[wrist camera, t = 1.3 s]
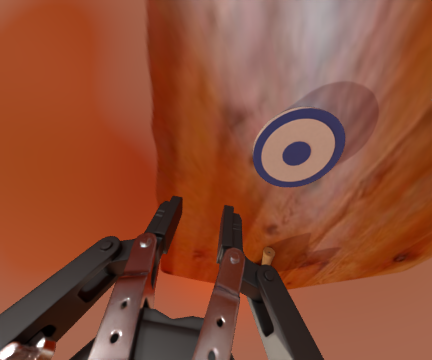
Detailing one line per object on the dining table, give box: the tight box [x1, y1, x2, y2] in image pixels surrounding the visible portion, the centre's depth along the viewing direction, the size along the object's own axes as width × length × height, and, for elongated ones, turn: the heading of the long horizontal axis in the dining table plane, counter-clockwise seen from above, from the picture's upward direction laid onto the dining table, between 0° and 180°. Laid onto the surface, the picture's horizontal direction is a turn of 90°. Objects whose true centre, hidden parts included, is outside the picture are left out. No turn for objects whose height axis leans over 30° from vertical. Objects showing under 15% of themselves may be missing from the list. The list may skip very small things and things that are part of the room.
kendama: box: [262, 247, 275, 265], centre depth 46 cm, size 8×6×18 cm
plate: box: [252, 107, 345, 187], centre depth 26 cm, size 14×14×1 cm
